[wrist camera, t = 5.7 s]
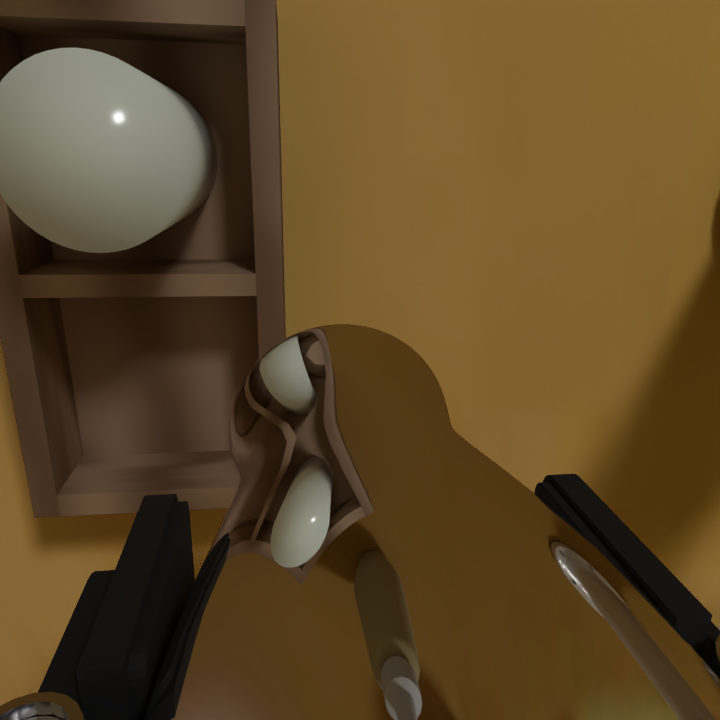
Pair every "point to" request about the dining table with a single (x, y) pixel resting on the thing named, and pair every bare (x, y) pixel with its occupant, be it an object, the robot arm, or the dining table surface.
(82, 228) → the grey rounded piece
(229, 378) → the carrier
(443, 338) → the dining table surface
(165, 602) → the robot arm
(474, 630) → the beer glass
